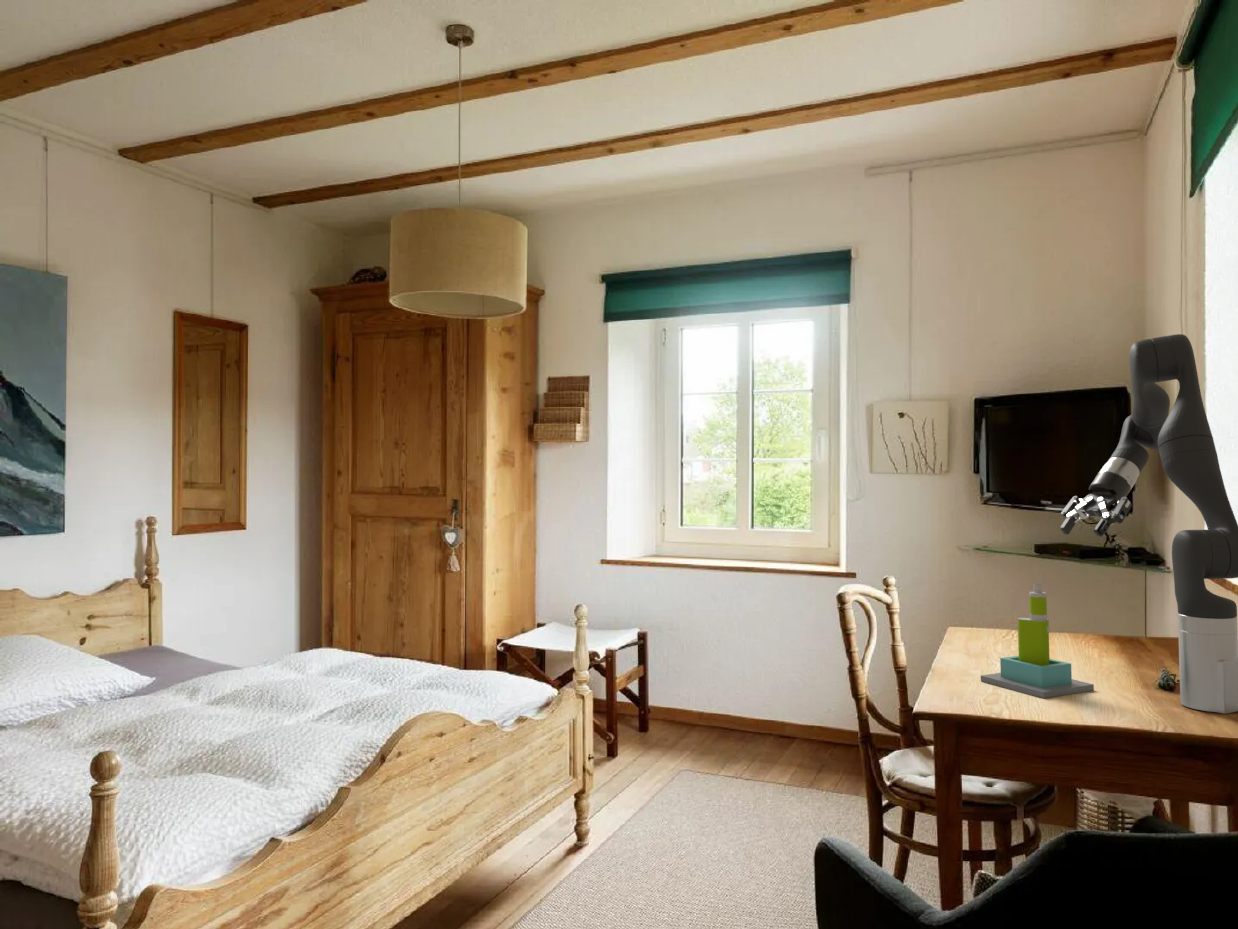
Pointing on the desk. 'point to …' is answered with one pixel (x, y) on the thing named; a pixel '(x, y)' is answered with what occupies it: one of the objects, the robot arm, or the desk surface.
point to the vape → (1034, 630)
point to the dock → (1037, 678)
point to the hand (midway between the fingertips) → (1080, 533)
